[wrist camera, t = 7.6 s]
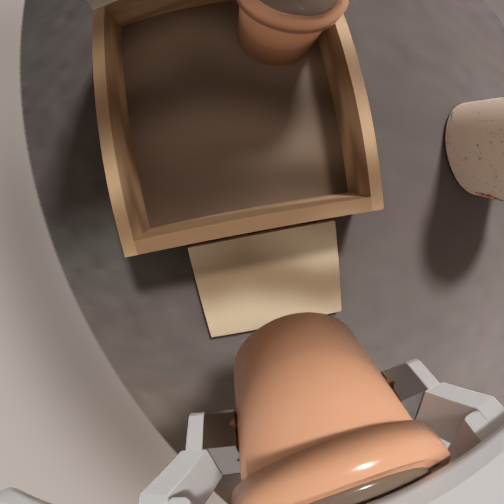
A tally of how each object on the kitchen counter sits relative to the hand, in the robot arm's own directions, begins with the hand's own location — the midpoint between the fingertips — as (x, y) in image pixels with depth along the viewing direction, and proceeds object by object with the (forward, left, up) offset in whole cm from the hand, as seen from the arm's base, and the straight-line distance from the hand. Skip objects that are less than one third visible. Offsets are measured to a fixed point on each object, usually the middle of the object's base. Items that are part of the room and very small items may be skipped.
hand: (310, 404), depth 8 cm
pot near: (0, 0, -2) cm, 2 cm away
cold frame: (+14, 0, -12) cm, 19 cm away
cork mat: (0, 0, -12) cm, 12 cm away
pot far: (+17, -3, -12) cm, 21 cm away
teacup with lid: (+8, -22, -12) cm, 27 cm away
